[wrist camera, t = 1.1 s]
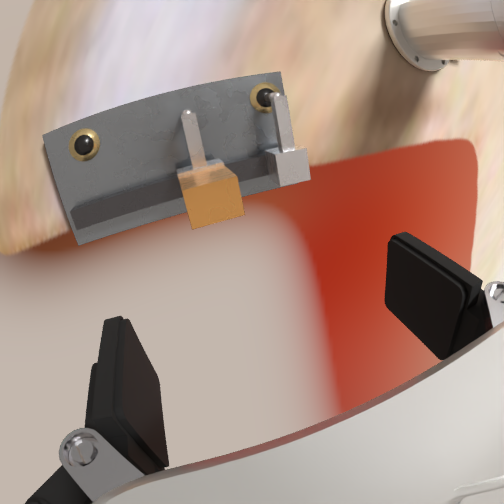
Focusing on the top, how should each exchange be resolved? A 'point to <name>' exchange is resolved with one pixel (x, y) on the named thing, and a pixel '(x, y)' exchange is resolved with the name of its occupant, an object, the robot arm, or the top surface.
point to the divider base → (171, 152)
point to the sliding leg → (206, 182)
